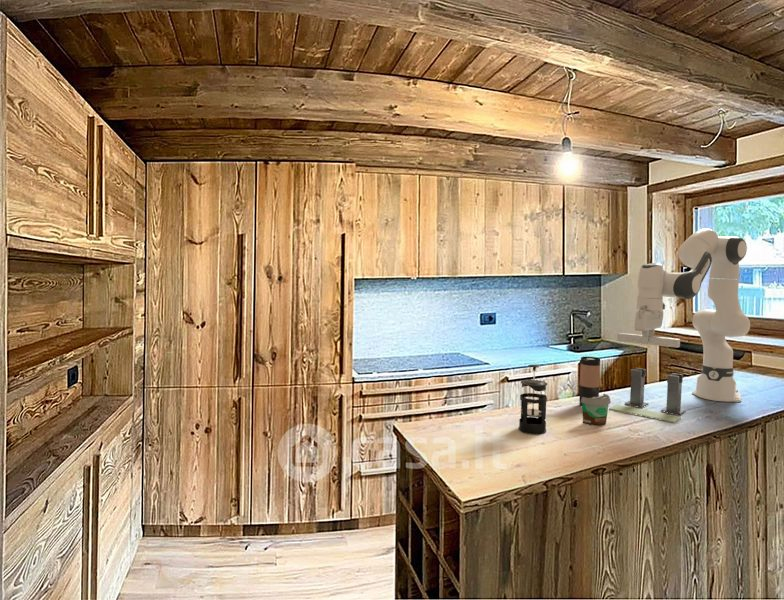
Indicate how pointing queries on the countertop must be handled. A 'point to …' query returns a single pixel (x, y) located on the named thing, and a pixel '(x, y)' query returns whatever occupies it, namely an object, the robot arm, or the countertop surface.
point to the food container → (595, 410)
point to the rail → (652, 340)
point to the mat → (645, 413)
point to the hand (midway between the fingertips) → (647, 340)
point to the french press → (532, 423)
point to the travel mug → (589, 377)
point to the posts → (672, 391)
